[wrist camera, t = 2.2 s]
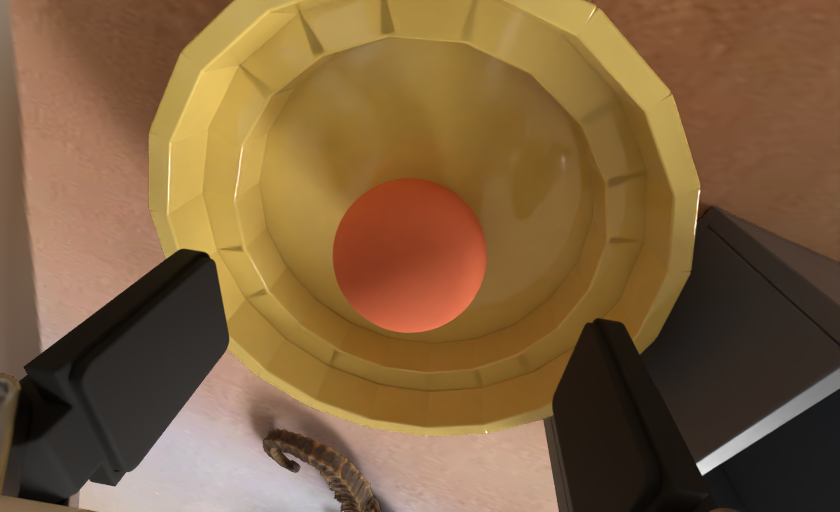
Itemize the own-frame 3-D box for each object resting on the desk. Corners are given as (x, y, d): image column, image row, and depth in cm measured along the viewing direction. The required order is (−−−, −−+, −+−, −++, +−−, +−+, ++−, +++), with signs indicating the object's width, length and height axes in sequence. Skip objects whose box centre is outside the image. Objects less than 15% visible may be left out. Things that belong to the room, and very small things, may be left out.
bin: (712, 204, 13) (881, 338, 8) (949, 312, 14) (1249, 499, 9) (538, 396, 19) (564, 549, 14) (715, 463, 20) (806, 631, 15)
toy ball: (378, 134, 13) (334, 189, 9) (509, 191, 13) (524, 267, 9) (341, 248, 15) (292, 331, 11) (452, 292, 16) (444, 387, 12)
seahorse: (331, 419, 22) (316, 452, 20) (428, 545, 28) (423, 576, 27) (256, 425, 24) (238, 455, 22) (363, 540, 30) (355, 570, 29)
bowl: (257, -139, 10) (147, -219, 7) (751, 103, 12) (866, 138, 8) (209, 288, 18) (147, 350, 15) (505, 399, 19) (511, 479, 16)
